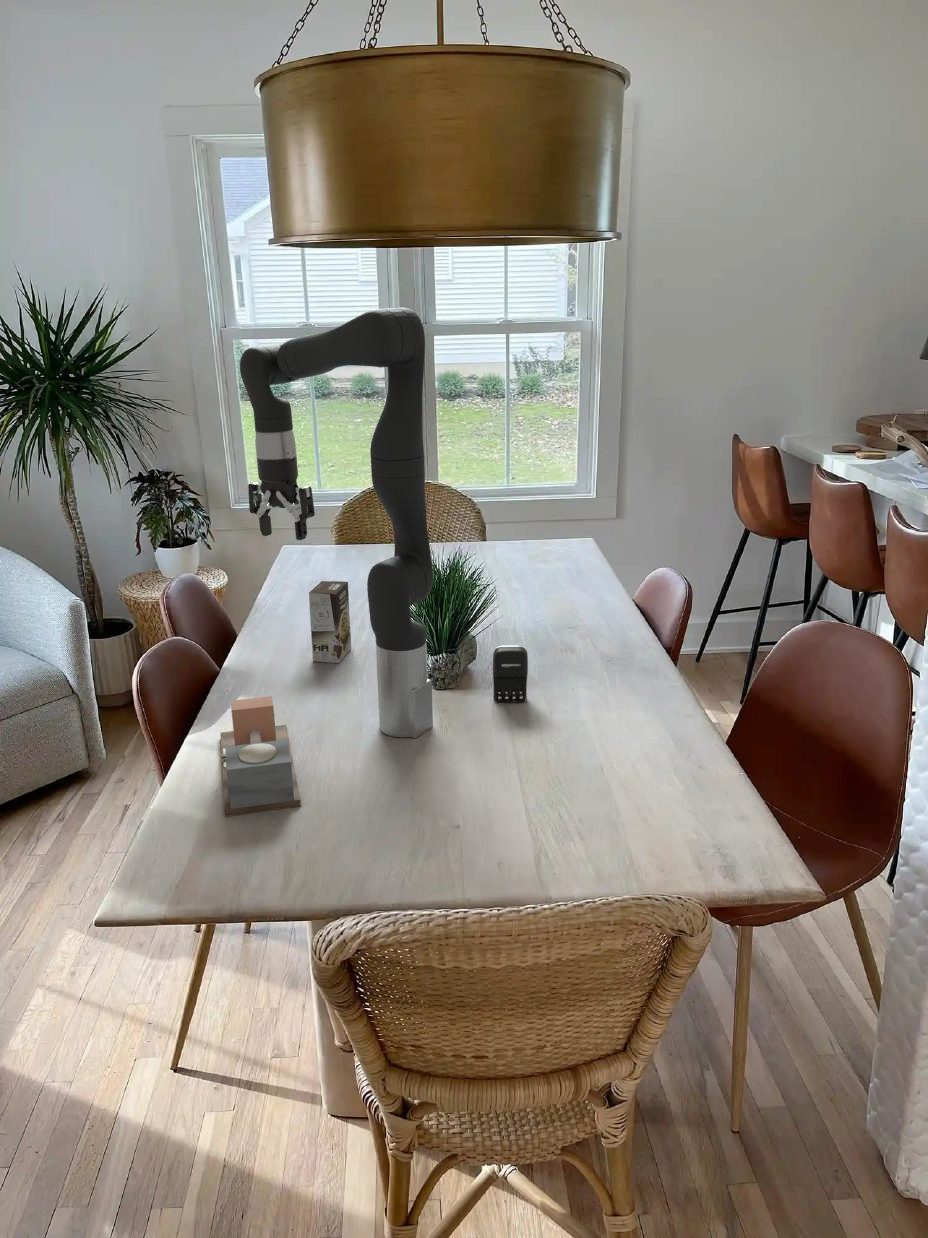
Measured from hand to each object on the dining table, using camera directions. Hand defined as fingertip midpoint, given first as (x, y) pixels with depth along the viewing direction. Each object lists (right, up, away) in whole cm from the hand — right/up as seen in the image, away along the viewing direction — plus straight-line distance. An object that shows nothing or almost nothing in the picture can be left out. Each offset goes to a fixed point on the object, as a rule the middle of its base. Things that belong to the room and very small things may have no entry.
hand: (284, 537), depth 191 cm
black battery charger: (+44, -33, +3) cm, 55 cm away
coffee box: (+6, -24, +27) cm, 37 cm away
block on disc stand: (-2, -41, -23) cm, 47 cm away
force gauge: (0, -42, -22) cm, 48 cm away
